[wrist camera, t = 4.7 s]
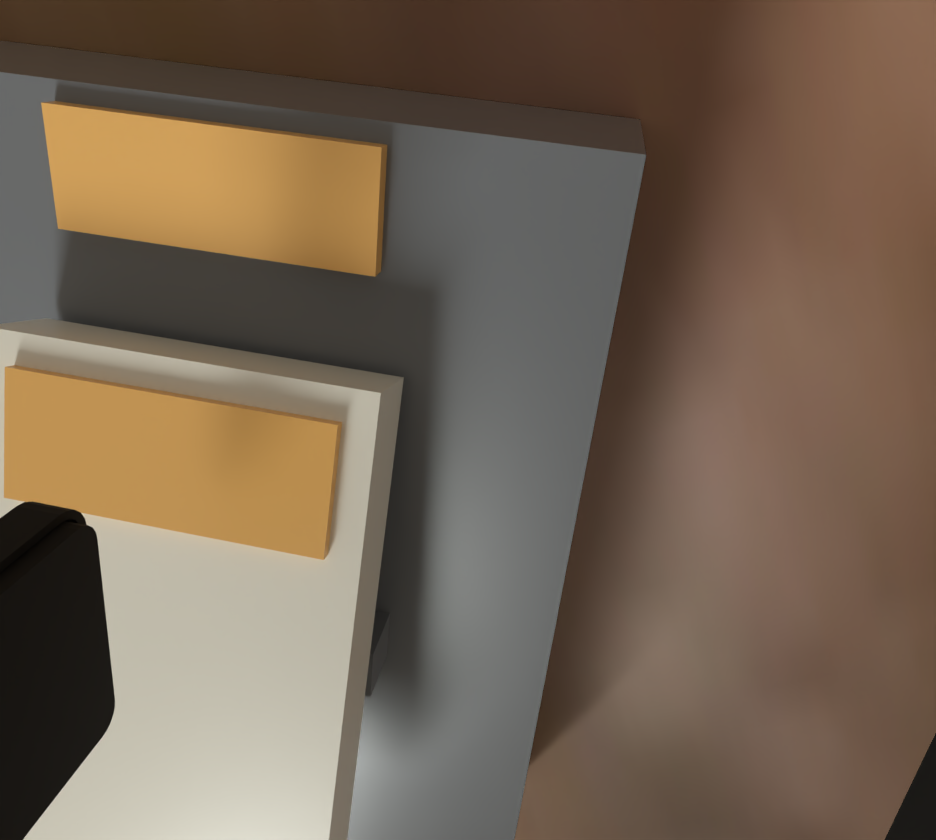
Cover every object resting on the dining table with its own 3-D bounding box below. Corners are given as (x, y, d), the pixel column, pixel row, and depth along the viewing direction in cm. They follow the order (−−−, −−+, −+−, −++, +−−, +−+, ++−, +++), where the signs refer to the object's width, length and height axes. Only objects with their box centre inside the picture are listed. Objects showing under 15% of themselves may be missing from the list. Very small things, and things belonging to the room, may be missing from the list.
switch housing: (518, 777, 23) (484, 1005, 18) (-214, 615, 26) (-437, 770, 20) (639, 118, 15) (648, 166, 9) (-447, -15, 18) (-923, -37, 12)
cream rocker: (332, 955, 15) (302, 1037, 13) (36, 879, 15) (-25, 950, 14) (403, 377, 12) (376, 396, 11) (46, 318, 13) (-28, 327, 11)
